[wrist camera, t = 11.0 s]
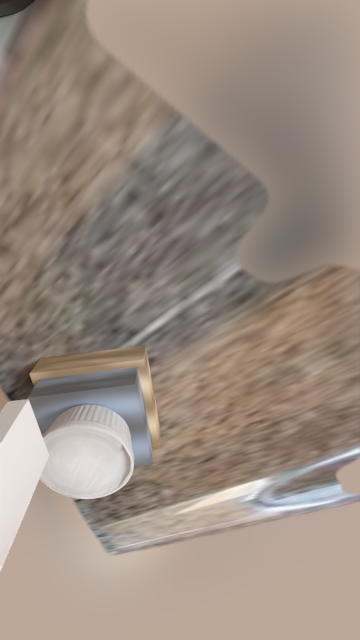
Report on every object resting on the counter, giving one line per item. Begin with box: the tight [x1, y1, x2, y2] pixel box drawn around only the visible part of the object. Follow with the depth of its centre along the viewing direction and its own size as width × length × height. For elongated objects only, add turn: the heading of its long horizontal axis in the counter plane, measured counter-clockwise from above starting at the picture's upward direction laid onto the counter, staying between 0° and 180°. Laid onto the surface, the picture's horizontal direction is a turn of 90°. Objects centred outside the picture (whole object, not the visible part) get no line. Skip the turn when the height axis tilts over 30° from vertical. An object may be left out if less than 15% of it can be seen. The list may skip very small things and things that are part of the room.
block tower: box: [28, 345, 160, 467], centre depth 44 cm, size 15×15×8 cm
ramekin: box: [40, 404, 134, 499], centre depth 38 cm, size 11×11×5 cm
